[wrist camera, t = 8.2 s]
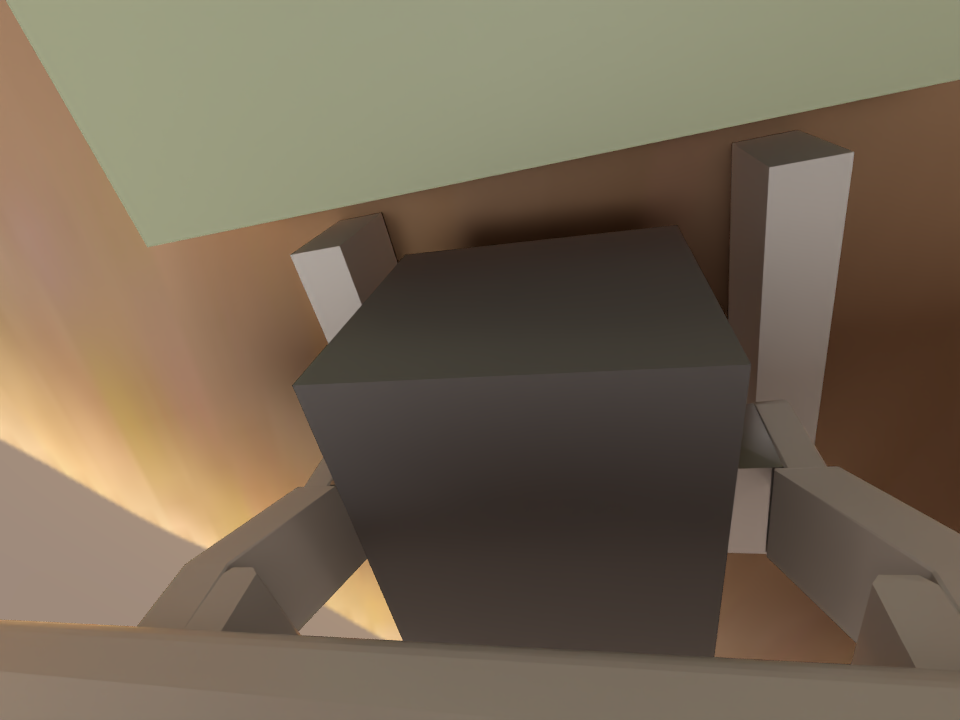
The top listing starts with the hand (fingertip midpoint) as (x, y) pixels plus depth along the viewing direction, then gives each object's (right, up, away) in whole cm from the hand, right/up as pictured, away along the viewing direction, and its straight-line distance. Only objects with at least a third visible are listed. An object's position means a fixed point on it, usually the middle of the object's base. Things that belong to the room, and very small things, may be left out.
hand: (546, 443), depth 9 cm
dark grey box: (0, +1, +1) cm, 2 cm away
